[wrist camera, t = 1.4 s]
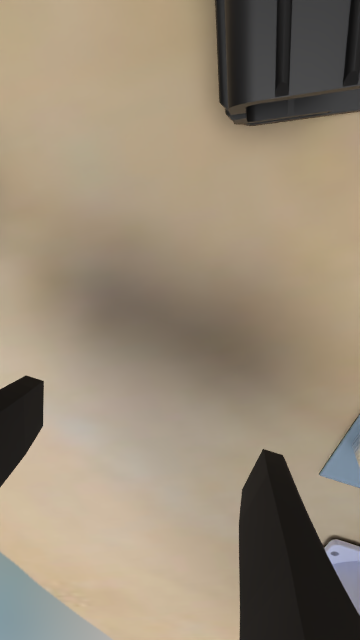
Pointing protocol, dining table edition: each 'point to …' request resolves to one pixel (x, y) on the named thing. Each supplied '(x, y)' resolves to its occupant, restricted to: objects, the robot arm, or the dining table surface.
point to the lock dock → (344, 460)
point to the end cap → (288, 59)
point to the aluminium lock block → (357, 448)
